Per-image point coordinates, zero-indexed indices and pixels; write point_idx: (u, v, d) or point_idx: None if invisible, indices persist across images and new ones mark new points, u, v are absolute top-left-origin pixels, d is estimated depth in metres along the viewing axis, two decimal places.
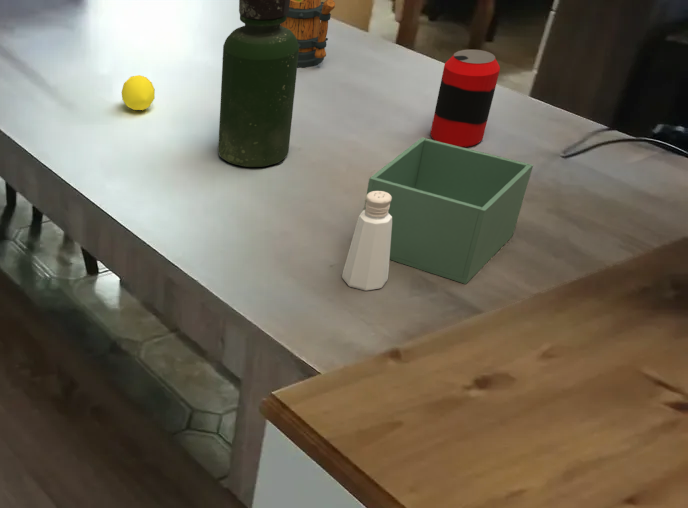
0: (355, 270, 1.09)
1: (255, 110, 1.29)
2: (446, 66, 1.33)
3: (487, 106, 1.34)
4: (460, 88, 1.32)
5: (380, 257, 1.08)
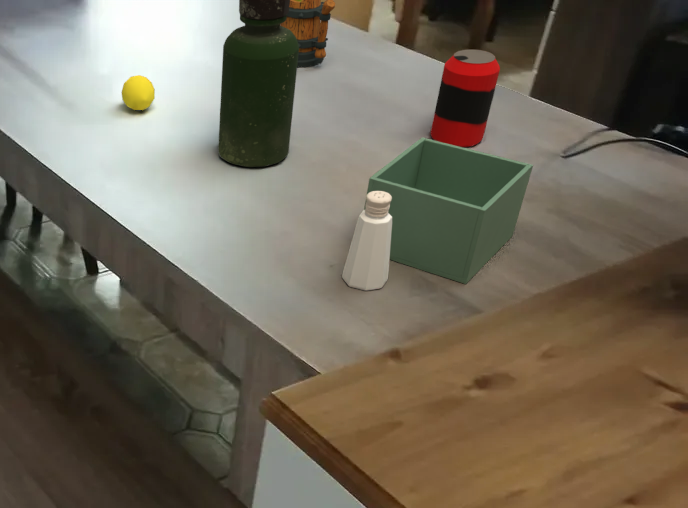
0: (355, 270, 1.09)
1: (255, 110, 1.29)
2: (446, 66, 1.33)
3: (487, 106, 1.34)
4: (460, 88, 1.32)
5: (381, 257, 1.08)
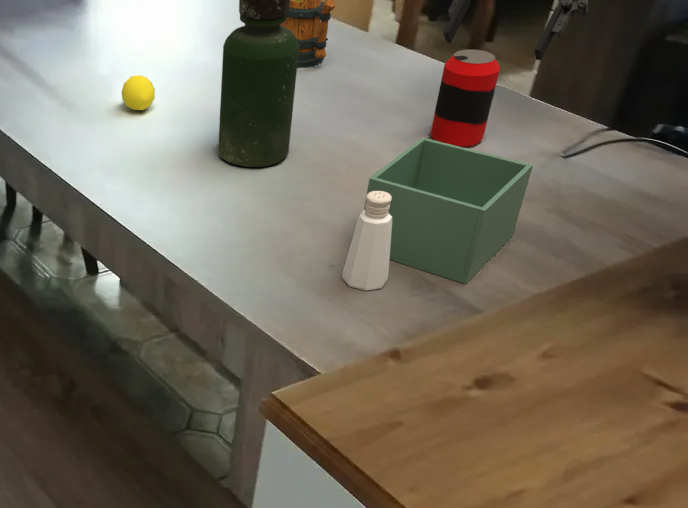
0: (355, 270, 1.09)
1: (255, 110, 1.29)
2: (446, 66, 1.33)
3: (487, 106, 1.34)
4: (460, 88, 1.32)
5: (381, 257, 1.08)
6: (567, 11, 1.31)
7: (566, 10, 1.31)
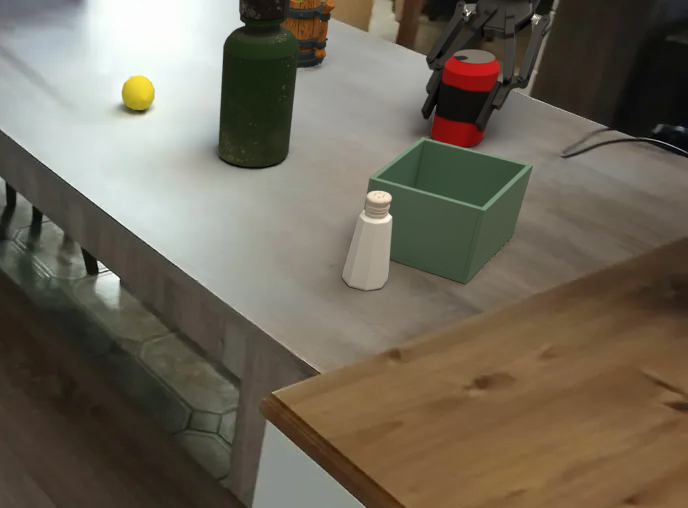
0: (355, 270, 1.09)
1: (255, 110, 1.29)
2: (446, 66, 1.33)
3: None
4: (460, 88, 1.32)
5: (381, 257, 1.08)
6: (505, 84, 1.32)
7: (505, 83, 1.32)
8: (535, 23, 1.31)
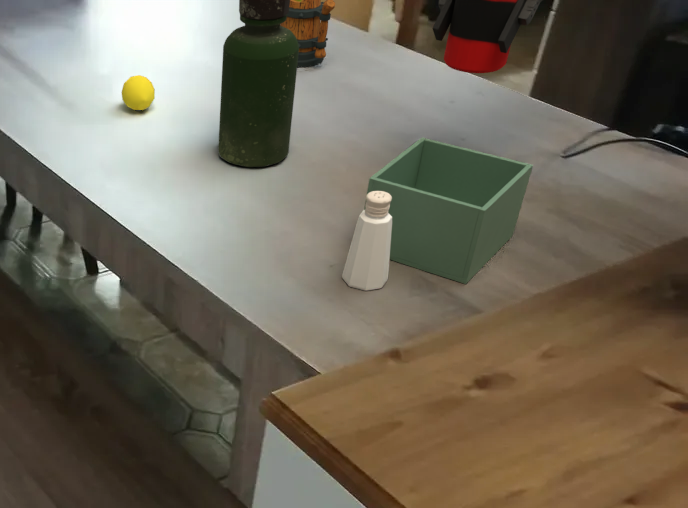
0: (355, 270, 1.09)
1: (255, 110, 1.29)
2: None
3: None
4: None
5: (381, 257, 1.08)
6: None
7: None
8: None
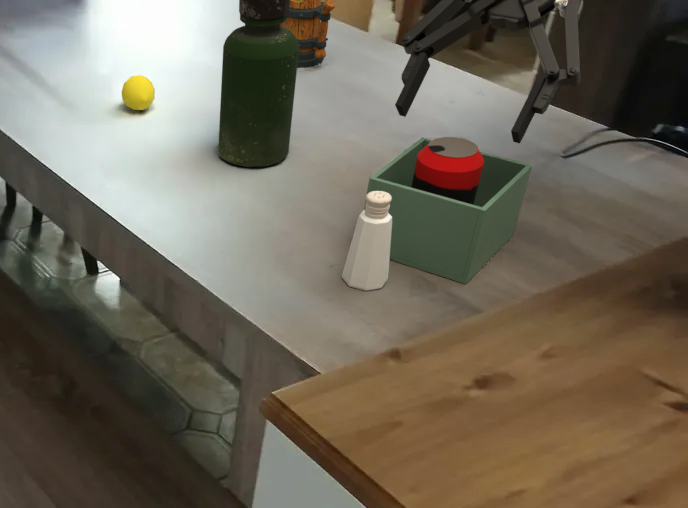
0: (355, 270, 1.09)
1: (255, 110, 1.29)
2: (419, 158, 1.10)
3: None
4: (434, 185, 1.09)
5: (380, 257, 1.08)
6: (553, 81, 1.00)
7: (552, 80, 1.00)
8: (564, 4, 1.00)
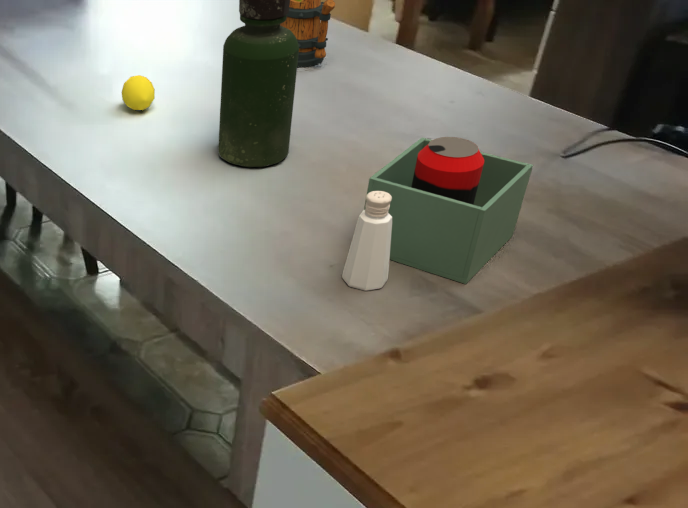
0: (355, 270, 1.09)
1: (255, 110, 1.29)
2: (419, 158, 1.10)
3: None
4: (434, 185, 1.09)
5: (381, 257, 1.08)
6: None
7: None
8: None
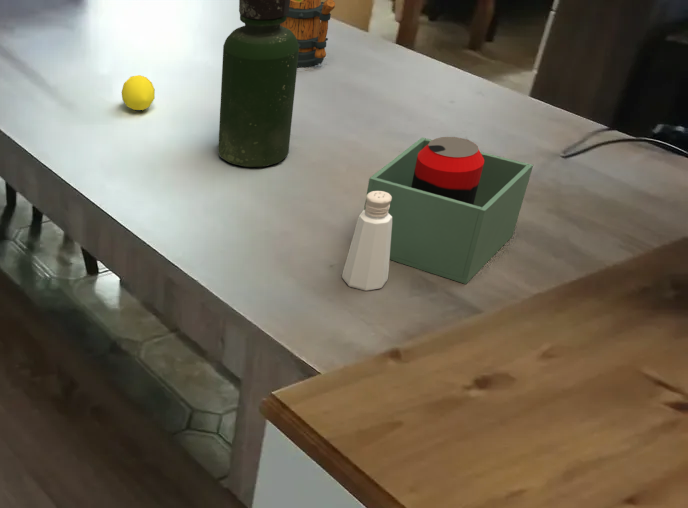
0: (355, 270, 1.09)
1: (255, 110, 1.29)
2: (419, 158, 1.10)
3: None
4: (434, 185, 1.09)
5: (381, 257, 1.08)
6: None
7: None
8: None
